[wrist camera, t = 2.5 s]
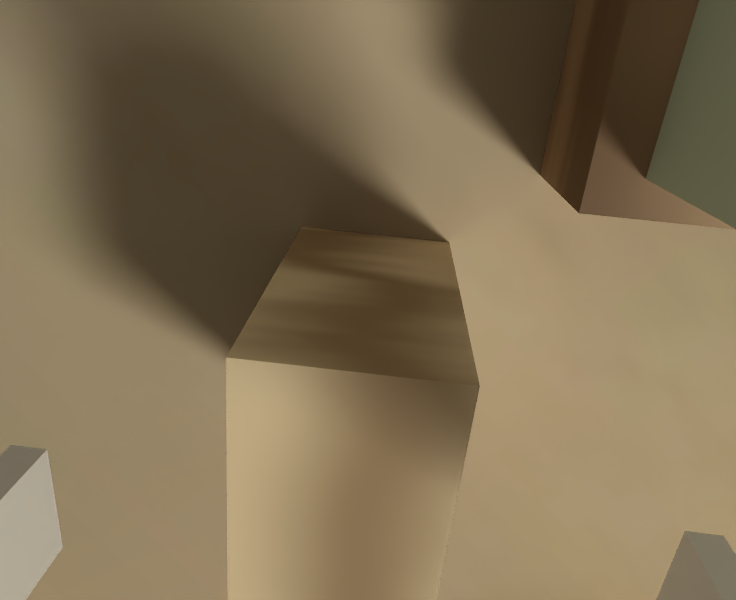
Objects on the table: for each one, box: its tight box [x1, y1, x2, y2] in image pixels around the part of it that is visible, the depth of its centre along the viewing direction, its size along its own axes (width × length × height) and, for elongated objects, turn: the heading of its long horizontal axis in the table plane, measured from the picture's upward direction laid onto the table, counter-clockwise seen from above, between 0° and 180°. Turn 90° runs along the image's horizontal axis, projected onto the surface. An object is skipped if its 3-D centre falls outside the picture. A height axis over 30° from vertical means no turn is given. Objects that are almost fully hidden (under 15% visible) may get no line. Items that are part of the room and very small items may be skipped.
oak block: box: [226, 227, 480, 600], centre depth 17 cm, size 5×7×9 cm
